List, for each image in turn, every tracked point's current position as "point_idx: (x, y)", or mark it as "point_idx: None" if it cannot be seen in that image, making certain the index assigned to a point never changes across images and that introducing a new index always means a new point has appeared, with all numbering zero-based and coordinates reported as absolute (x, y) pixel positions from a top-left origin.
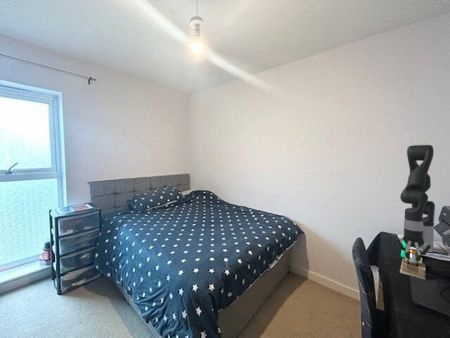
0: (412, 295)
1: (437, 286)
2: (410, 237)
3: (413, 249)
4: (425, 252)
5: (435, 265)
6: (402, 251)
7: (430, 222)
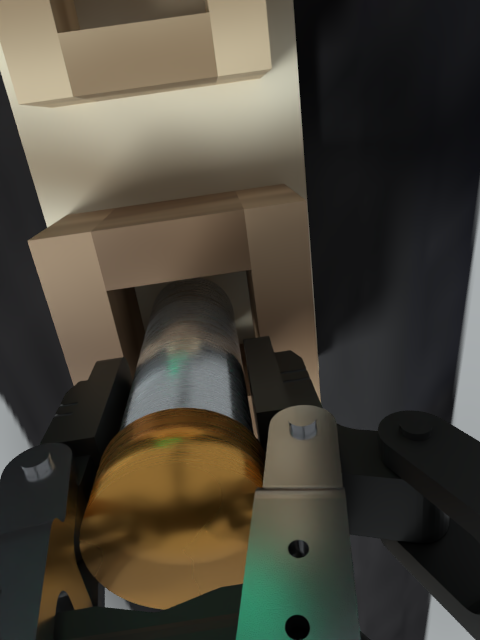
0: None
1: (403, 409)
2: None
3: (178, 488)
4: (467, 577)
5: None
6: None
7: None
